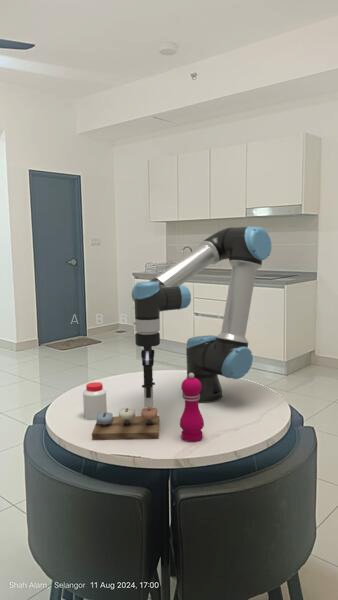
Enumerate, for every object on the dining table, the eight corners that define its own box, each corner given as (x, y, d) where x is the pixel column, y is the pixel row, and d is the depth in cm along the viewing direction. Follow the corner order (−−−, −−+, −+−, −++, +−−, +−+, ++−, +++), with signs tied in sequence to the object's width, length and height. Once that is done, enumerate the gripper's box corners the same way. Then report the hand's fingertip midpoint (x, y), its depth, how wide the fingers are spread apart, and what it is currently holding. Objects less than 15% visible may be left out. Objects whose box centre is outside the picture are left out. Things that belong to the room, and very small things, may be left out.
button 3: (113, 424, 155) (113, 411, 154) (112, 431, 150) (111, 417, 149) (98, 425, 155) (97, 411, 154) (95, 431, 150) (95, 417, 149)
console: (159, 421, 159) (159, 415, 159) (158, 438, 145) (158, 432, 145) (98, 422, 159) (98, 416, 159) (92, 440, 145) (91, 433, 145)
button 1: (157, 419, 155) (157, 406, 154) (157, 425, 150) (157, 412, 149) (141, 420, 155) (141, 406, 154) (141, 426, 150) (140, 412, 149)
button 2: (135, 420, 155) (135, 407, 154) (134, 426, 150) (134, 412, 149) (119, 420, 155) (119, 407, 154) (118, 426, 150) (118, 412, 149)
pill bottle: (88, 421, 161) (86, 389, 159) (81, 414, 167) (79, 383, 166) (110, 417, 164) (109, 385, 163) (102, 410, 171) (101, 380, 170)
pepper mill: (178, 433, 149) (177, 370, 147) (202, 432, 150) (201, 369, 147) (181, 443, 142) (180, 376, 140) (205, 441, 143) (205, 375, 140)
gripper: (136, 328, 155) (138, 400, 158) (133, 336, 142) (135, 414, 145) (160, 328, 155) (161, 399, 158) (159, 336, 142) (160, 413, 145)
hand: (148, 406), depth 151 cm, fingers closed
